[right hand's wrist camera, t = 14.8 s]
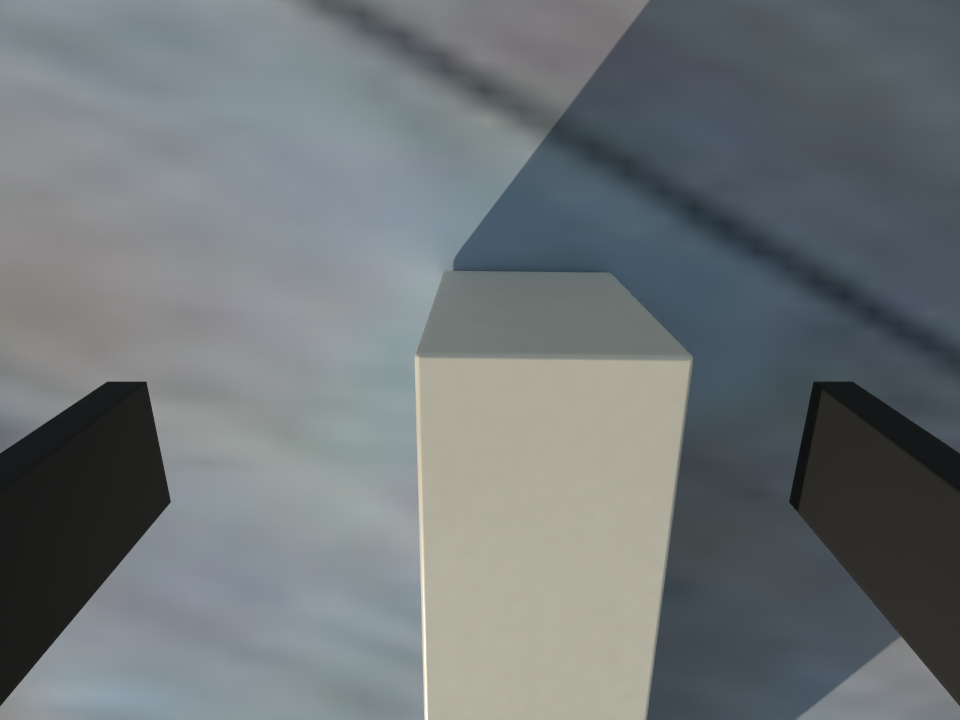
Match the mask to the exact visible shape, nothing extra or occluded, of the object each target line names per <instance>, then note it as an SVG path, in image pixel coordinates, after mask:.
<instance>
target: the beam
mask: <svg viewBox="0 0 960 720" xmlns="http://www.w3.org/2000/svg"><path fill="white" fill-rule="evenodd" d="M692 368H693V357H692V355H691V354H690V353H689V352H688V351H687V350H686V349H685V348H684V347H683V346H682V345H681V344H680V343H679V342H678V341H677V340H676V339H675V338H674V337H673V336H672V335H671V334H670V333H669V332H668V331H667V330H666V329H665V328H664V327H663V326H662V325H661V324H660V323H659V322H658V321H657V320H656V319H655V318H654V317H653V316H652V315H651V313H650V312H649V311H648V310H647V309H646V308H645V307H644V306H643V305H642V304H641V303H640V302H639V301H638V300H637V299H636V298H635V297H634V296H633V295H632V294H631V293H630V292H629V291H628V290H627V289H626V288H625V287H624V286H623V285H622V284H621V283H620V282H619V281H618V280H617V279H616V278H615V277H614V276H613V275H612V274H611V273H604V272H514V271H445V272H444V273H443V276H442V279H441V281H440V284H439V287H438V290H437V293H436V296H435V299H434V302H433V305H432V308H431V311H430V314H429V317H428V319H427V322H426V325H425V328H424V331H423V334H422V337H421V340H420V343H419V346H418V349H417V352H416V355H415V384H416V421H417V458H418V495H419V533H420V570H421V607H422V644H423V682H424V719H425V720H647V714H648V707H649V699H650V691H651V684H652V676H653V668H654V661H655V653H656V645H657V637H658V630H659V622H660V614H661V607H662V599H663V591H664V584H665V576H666V568H667V561H668V553H669V545H670V537H671V530H672V522H673V514H674V507H675V499H676V491H677V484H678V476H679V468H680V461H681V453H682V445H683V437H684V430H685V422H686V414H687V407H688V399H689V391H690V384H691V376H692Z"/></svg>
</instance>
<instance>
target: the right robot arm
mask: <svg viewBox="0 0 960 720" xmlns="http://www.w3.org/2000/svg"><path fill="white" fill-rule="evenodd" d="M170 502H171V501H170V496H169V491H168V486H167V481H166V476H165V471H164V466H163V461H162V456H161V451H160V447H159V442H158V437H157V432H156V427H155V422H154V417H153V412H152V407H151V402H150V397H149V392H148V388H147V383H146V382H106V383H105V384H103V385H102V386H100V387H99V388H97V389H96V390H94V391H93V392H91V393H90V394H88V395H87V396H85V397H84V398H82V399H81V400H79V401H78V402H76V403H75V404H73V405H72V406H70V407H69V408H67V409H66V410H64V411H63V412H61V413H60V414H59V415H57V416H56V417H54V418H53V419H51V420H50V421H48V422H47V423H45V424H44V425H42V426H41V427H39V428H38V429H36V430H35V431H33V432H32V433H30V434H29V435H27V436H26V437H24V438H23V439H21V440H20V441H18V442H17V443H15V444H14V445H12V446H11V447H9V448H8V449H6V450H5V451H3V452H2V453H0V706H1V705H2V703H3V702H4V701H5V700H6V699H7V697H8V696H9V695H10V694H11V693H12V691H13V690H14V689H15V688H16V687H17V685H18V684H19V683H20V682H21V681H22V679H23V678H24V677H25V676H26V675H27V673H28V672H29V671H30V670H31V669H32V667H33V666H34V665H35V664H36V663H37V661H38V660H39V659H40V658H41V657H42V655H43V654H44V653H45V652H46V651H47V649H48V648H49V647H50V646H51V645H52V643H53V642H54V641H55V640H56V639H57V638H58V636H59V635H60V634H61V633H62V632H63V630H64V629H65V628H66V627H67V626H68V624H69V623H70V622H71V621H72V620H73V618H74V617H75V616H76V615H77V614H78V612H79V611H80V610H81V609H82V608H83V606H84V605H85V604H86V603H87V602H88V600H89V599H90V598H91V597H92V596H93V594H94V593H95V592H96V591H97V590H98V588H99V587H100V586H101V585H102V584H103V582H104V581H105V580H106V579H107V578H108V576H109V575H110V574H111V573H112V572H113V571H114V569H115V568H116V567H117V566H118V565H119V563H120V562H121V561H122V560H123V559H124V557H125V556H126V555H127V554H128V553H129V551H130V550H131V549H132V548H133V547H134V545H135V544H136V543H137V542H138V541H139V539H140V538H141V537H142V536H143V535H144V533H145V532H146V531H147V530H148V529H149V527H150V526H151V525H152V524H153V523H154V521H155V520H156V519H157V518H158V517H159V515H160V514H161V513H162V512H163V511H164V509H165V508H166V507H167V506H168V505H169V504H170ZM789 502H790V504H791V505H792V506H793V507H794V508H795V510H796V511H797V512H798V513H799V514H800V515H801V517H802V518H803V519H804V520H805V521H806V523H807V524H808V525H809V526H810V527H811V529H812V530H813V531H814V532H815V533H816V535H817V536H818V537H819V538H820V539H821V541H822V542H823V543H824V544H825V545H826V547H827V548H828V549H829V550H830V551H831V553H832V554H833V555H834V556H835V557H836V559H837V560H838V561H839V562H840V563H841V565H842V566H843V567H844V568H845V569H846V571H847V572H848V573H849V574H850V575H851V577H852V578H853V579H854V580H855V581H856V582H857V584H858V585H859V586H860V587H861V588H862V590H863V591H864V592H865V593H866V594H867V596H868V597H869V598H870V599H871V600H872V602H873V603H874V604H875V605H876V606H877V608H878V609H879V610H880V611H881V612H882V614H883V615H884V616H885V617H886V618H887V620H888V621H889V622H890V623H891V624H892V626H893V627H894V628H895V629H896V630H897V632H898V633H899V634H900V635H901V636H902V638H903V639H904V640H905V641H906V642H907V643H908V645H909V646H910V647H911V648H912V649H913V651H914V652H915V653H916V654H917V655H918V657H919V658H920V659H921V660H922V661H923V663H924V664H925V665H926V666H927V667H928V669H929V670H930V671H931V672H932V673H933V675H934V676H935V677H936V678H937V679H938V681H939V682H940V683H941V684H942V685H943V687H944V688H945V689H946V690H947V691H948V693H949V694H950V695H951V696H952V697H953V699H954V700H955V701H956V702H957V703H958V705H959V706H960V453H958V452H957V451H955V450H954V449H952V448H951V447H949V446H948V445H946V444H945V443H943V442H942V441H940V440H939V439H937V438H936V437H934V436H933V435H931V434H930V433H928V432H927V431H925V430H924V429H922V428H921V427H919V426H918V425H916V424H915V423H913V422H912V421H910V420H909V419H907V418H906V417H904V416H903V415H901V414H900V413H899V412H897V411H896V410H894V409H893V408H891V407H890V406H888V405H887V404H885V403H884V402H882V401H881V400H879V399H878V398H876V397H875V396H873V395H872V394H870V393H869V392H867V391H866V390H864V389H863V388H861V387H860V386H858V385H857V384H855V383H854V382H814V383H813V387H812V392H811V397H810V402H809V407H808V412H807V417H806V422H805V427H804V432H803V437H802V442H801V447H800V451H799V456H798V461H797V466H796V471H795V476H794V481H793V486H792V491H791V496H790V501H789Z"/></svg>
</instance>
